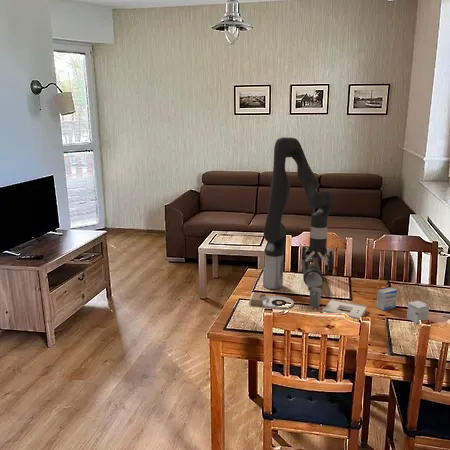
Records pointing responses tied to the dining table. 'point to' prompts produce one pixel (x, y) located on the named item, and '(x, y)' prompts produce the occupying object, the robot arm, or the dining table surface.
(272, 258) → the robot arm
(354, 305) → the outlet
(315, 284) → the muzzle brake
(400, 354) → the dining table surface
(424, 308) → the skincare box
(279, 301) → the record player
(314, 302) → the charger
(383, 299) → the medicine box
